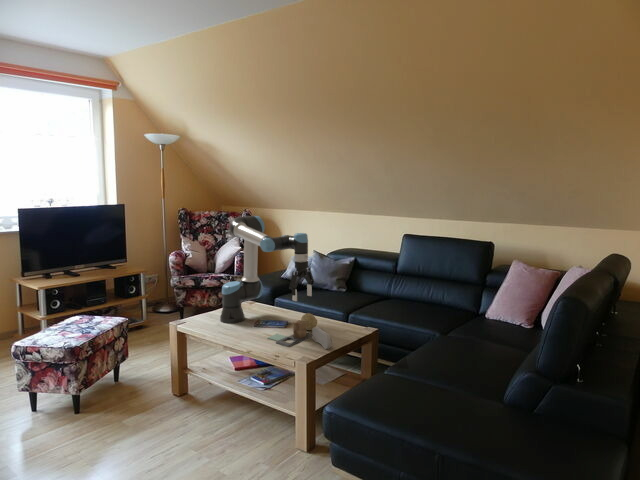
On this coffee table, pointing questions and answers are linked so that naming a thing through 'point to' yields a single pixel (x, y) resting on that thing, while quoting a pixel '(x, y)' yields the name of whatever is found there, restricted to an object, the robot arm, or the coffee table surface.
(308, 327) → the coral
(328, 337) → the game controller
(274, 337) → the felt pad
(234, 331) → the coffee table surface
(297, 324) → the walnut block
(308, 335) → the grey slotted board
